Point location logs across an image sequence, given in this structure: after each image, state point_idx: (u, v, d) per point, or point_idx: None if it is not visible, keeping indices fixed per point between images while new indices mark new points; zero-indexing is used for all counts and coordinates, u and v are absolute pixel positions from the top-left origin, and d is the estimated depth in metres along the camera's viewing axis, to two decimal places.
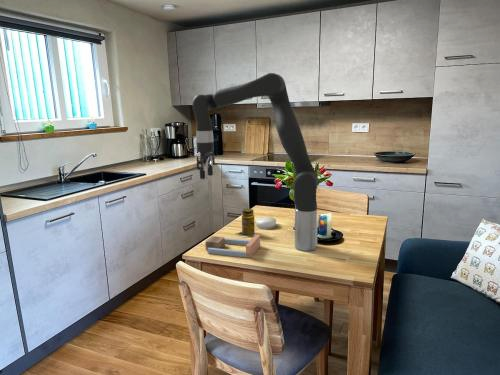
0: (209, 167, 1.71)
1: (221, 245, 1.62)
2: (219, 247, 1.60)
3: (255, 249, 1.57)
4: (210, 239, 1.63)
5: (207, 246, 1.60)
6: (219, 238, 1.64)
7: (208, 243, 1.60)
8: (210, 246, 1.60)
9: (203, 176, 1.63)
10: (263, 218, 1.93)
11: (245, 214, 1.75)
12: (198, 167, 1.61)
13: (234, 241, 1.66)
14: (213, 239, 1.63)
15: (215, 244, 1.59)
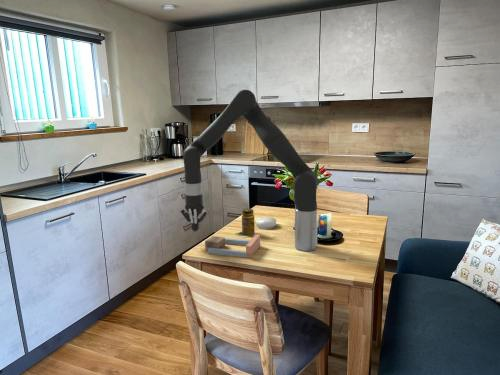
0: None
1: (221, 245, 1.62)
2: (218, 247, 1.60)
3: (255, 249, 1.57)
4: (210, 239, 1.63)
5: (207, 246, 1.61)
6: (219, 238, 1.63)
7: (207, 243, 1.60)
8: (209, 246, 1.60)
9: None
10: (263, 218, 1.93)
11: (245, 214, 1.75)
12: None
13: (234, 241, 1.66)
14: (213, 239, 1.63)
15: (214, 244, 1.59)
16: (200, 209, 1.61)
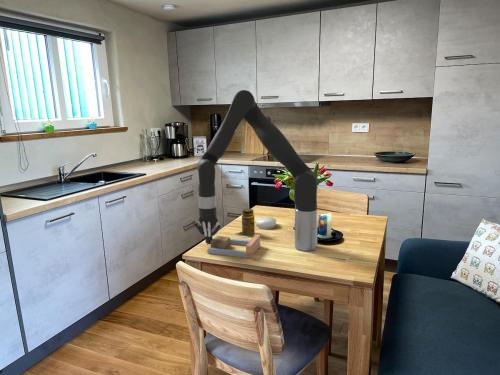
0: None
1: (226, 245, 1.62)
2: (224, 247, 1.60)
3: (255, 249, 1.57)
4: (215, 239, 1.63)
5: (212, 246, 1.60)
6: (224, 238, 1.63)
7: (213, 243, 1.60)
8: (215, 246, 1.60)
9: None
10: (263, 218, 1.93)
11: (245, 214, 1.75)
12: None
13: (234, 241, 1.66)
14: (218, 239, 1.62)
15: (220, 244, 1.59)
16: (214, 222, 1.60)
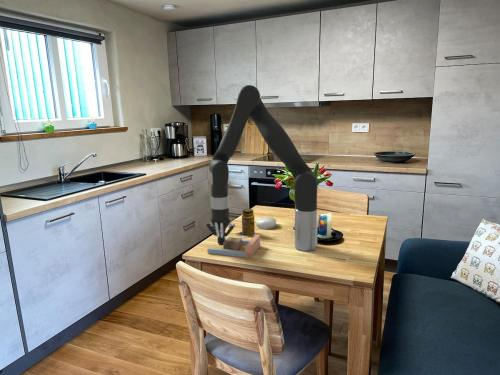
0: (220, 236, 1.61)
1: (239, 246, 1.61)
2: (237, 248, 1.58)
3: (255, 249, 1.57)
4: (228, 240, 1.61)
5: (225, 247, 1.59)
6: (237, 239, 1.62)
7: (226, 244, 1.58)
8: (228, 247, 1.58)
9: None
10: (263, 218, 1.93)
11: (245, 214, 1.75)
12: None
13: None
14: (231, 240, 1.61)
15: (233, 245, 1.57)
16: (227, 223, 1.58)
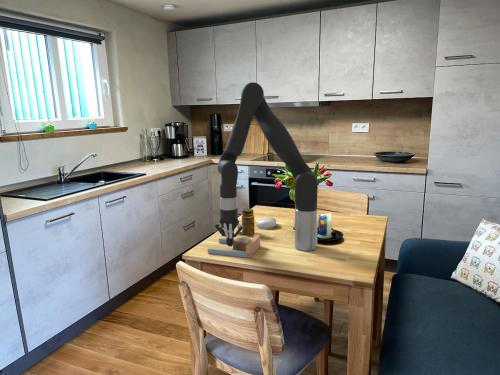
0: None
1: None
2: None
3: (255, 249, 1.57)
4: (237, 240, 1.60)
5: (235, 248, 1.58)
6: (246, 239, 1.61)
7: (235, 244, 1.57)
8: (238, 248, 1.58)
9: None
10: (263, 218, 1.93)
11: (245, 214, 1.75)
12: None
13: None
14: (240, 240, 1.60)
15: (243, 246, 1.57)
16: (236, 224, 1.57)
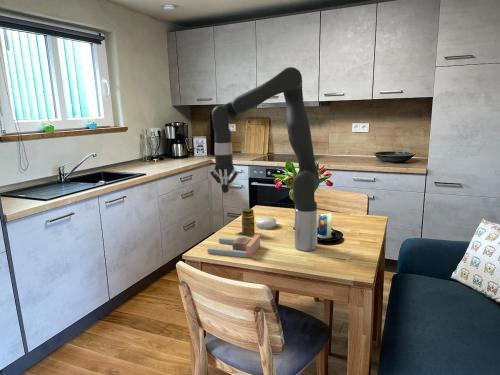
0: (224, 184, 1.62)
1: None
2: None
3: (255, 249, 1.57)
4: (237, 240, 1.60)
5: (234, 247, 1.58)
6: (246, 239, 1.61)
7: (235, 244, 1.58)
8: (237, 247, 1.58)
9: None
10: (263, 218, 1.93)
11: (245, 214, 1.75)
12: None
13: None
14: (240, 240, 1.60)
15: (243, 246, 1.57)
16: (231, 169, 1.59)
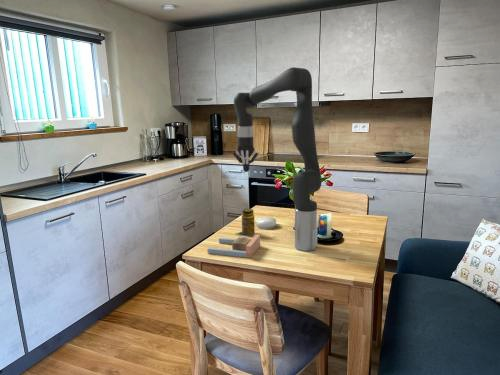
0: None
1: None
2: None
3: (255, 249, 1.57)
4: (237, 240, 1.61)
5: (234, 247, 1.58)
6: (246, 239, 1.61)
7: (235, 244, 1.58)
8: (237, 247, 1.58)
9: None
10: (263, 218, 1.93)
11: (245, 214, 1.75)
12: None
13: None
14: (240, 240, 1.60)
15: (242, 246, 1.57)
16: (252, 150, 1.77)
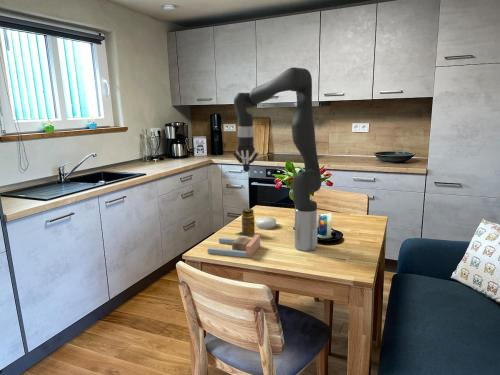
0: None
1: None
2: None
3: (255, 249, 1.57)
4: (237, 240, 1.61)
5: (234, 247, 1.58)
6: (246, 240, 1.61)
7: (234, 244, 1.58)
8: (237, 247, 1.58)
9: None
10: (263, 218, 1.93)
11: (245, 214, 1.75)
12: None
13: None
14: (240, 240, 1.60)
15: (242, 246, 1.57)
16: (252, 150, 1.77)
